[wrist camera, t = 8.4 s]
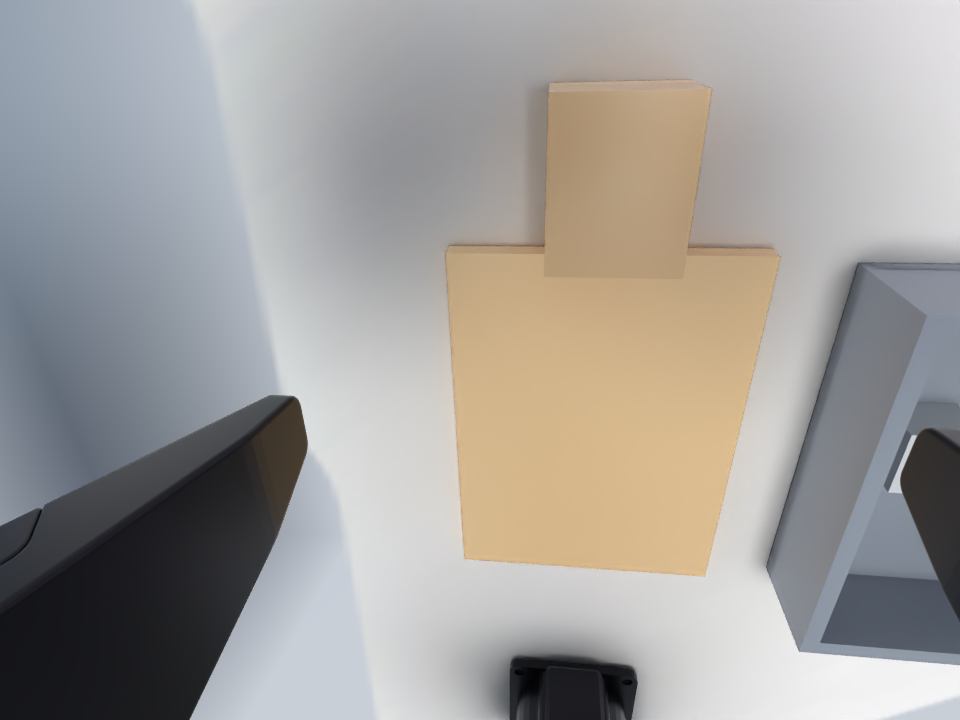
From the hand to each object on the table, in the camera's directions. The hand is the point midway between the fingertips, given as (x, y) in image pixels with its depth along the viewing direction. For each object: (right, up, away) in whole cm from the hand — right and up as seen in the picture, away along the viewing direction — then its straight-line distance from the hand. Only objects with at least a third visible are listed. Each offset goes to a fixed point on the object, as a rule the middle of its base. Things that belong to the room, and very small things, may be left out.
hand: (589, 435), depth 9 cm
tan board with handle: (+3, +1, +13) cm, 13 cm away
